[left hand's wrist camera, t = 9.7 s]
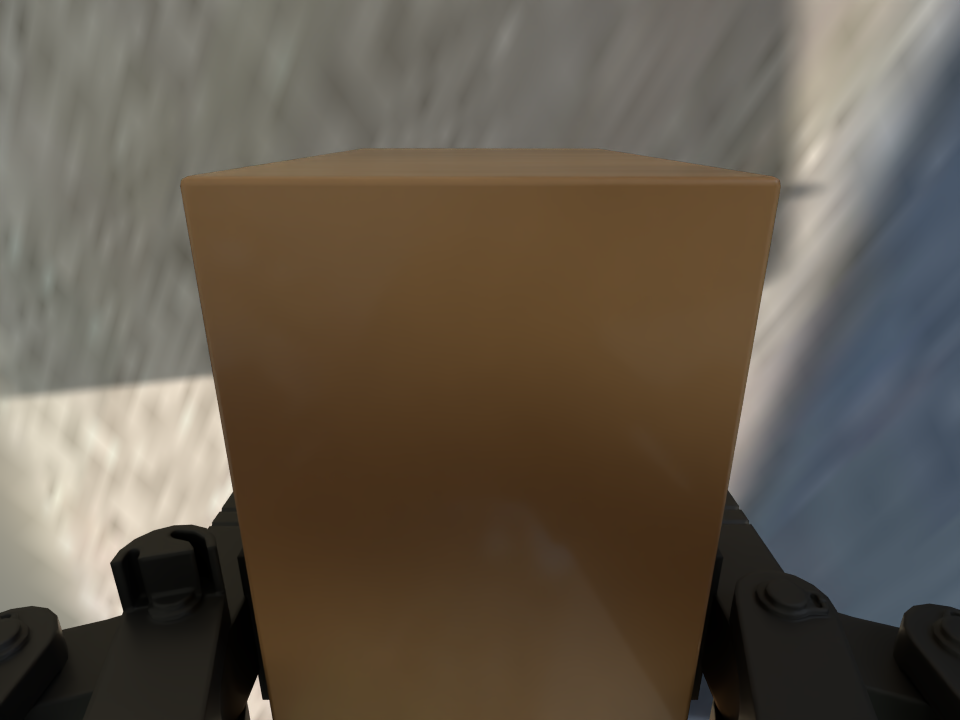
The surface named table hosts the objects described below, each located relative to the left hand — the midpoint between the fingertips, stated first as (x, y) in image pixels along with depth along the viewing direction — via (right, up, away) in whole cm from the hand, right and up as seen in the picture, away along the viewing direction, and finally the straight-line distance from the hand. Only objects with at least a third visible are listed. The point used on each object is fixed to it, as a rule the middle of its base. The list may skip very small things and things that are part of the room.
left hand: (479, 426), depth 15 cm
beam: (0, -27, +11) cm, 29 cm away
